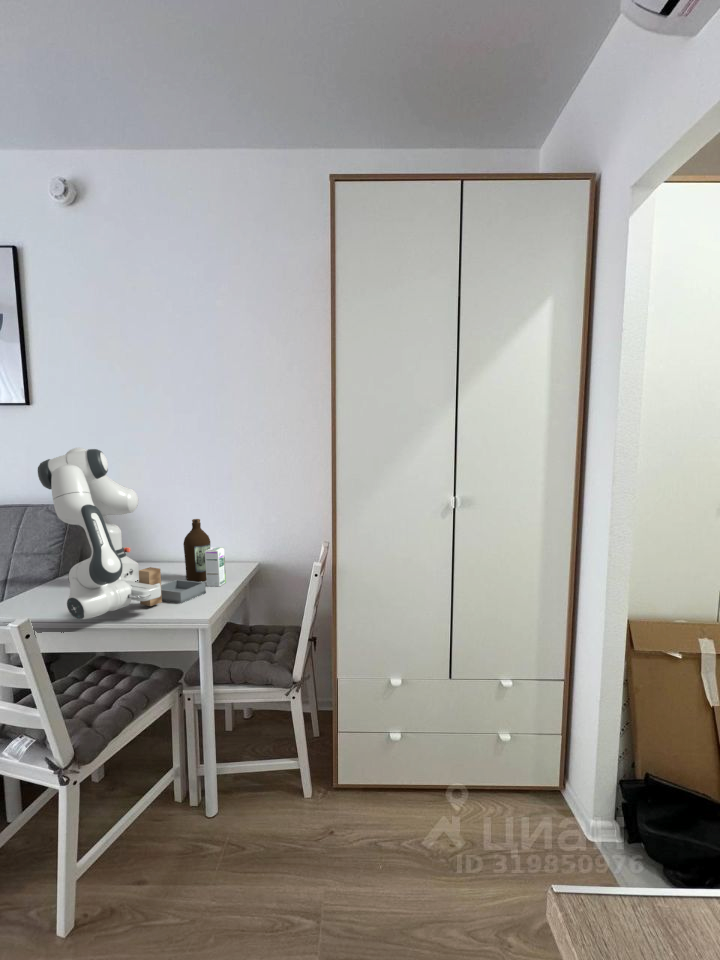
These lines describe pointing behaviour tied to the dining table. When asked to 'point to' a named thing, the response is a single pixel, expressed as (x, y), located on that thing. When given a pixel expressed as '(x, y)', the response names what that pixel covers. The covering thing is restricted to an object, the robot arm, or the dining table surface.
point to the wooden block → (150, 582)
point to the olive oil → (196, 552)
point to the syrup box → (215, 567)
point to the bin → (182, 590)
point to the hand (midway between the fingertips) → (152, 584)
